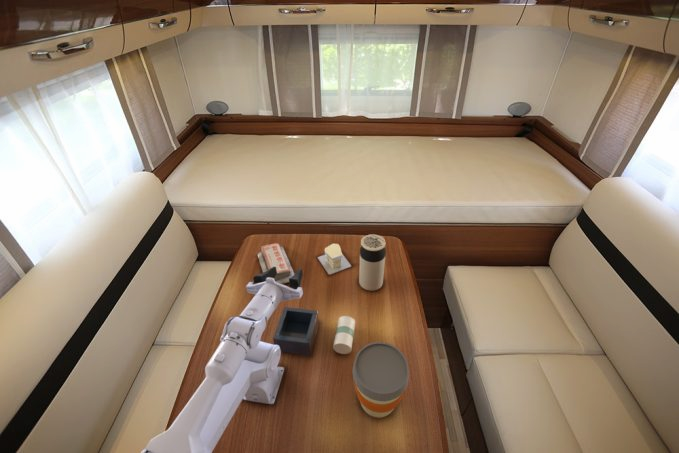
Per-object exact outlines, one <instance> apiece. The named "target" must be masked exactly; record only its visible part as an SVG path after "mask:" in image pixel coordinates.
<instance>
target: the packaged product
mask: <svg viewBox="0 0 679 453" xmlns="http://www.w3.org/2000/svg"><path fill="white" fill-rule="evenodd" d="M260 249H261V251H260V252H257V254H256V255H257V258H258V261H259V265H260V268H261V271H262V273H263V272H265V271H267V270H269V269H270V268H272V267H276V270H277V274H276V276H275V277H274V280H275V282H278V283H280V284H283V285H285V284H288V283H289V278H291V277H292V276H293V275H295V272H294V270H293V267H292V265H291V263H290V260H289V257H288V256H287V253H286V251H285V249H284V246H280V244H279V243H277V242H273V243H270V244H265V245H262V246H261V248H260Z"/></svg>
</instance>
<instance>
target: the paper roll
mask: <svg viewBox="0 0 679 453" xmlns="http://www.w3.org/2000/svg"><path fill="white" fill-rule="evenodd" d="M355 329H356V321H355V319H354V318H353V317H351V316H350V315H349V316H348V315H342V316H340V317H339V318H338V320H337V324H336V331H335V335H334V340H333V346H332V349H333V351H335V352H336V353H338V354H341V355H347V354H350V353H351V352H352V348H353V342H354V335H355Z"/></svg>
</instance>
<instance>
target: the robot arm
mask: <svg viewBox="0 0 679 453" xmlns="http://www.w3.org/2000/svg"><path fill="white" fill-rule="evenodd" d="M276 274H277V270H276V267H272V268H270V269H269V270H267V271H265V272H263V271H262V272H261V273H258V274H254V276H253V277H252V280H253V281H249V282H248V283H247V284H246V286H245V288H246V292H247V293H248V294H252V295H254V296H253V298H252V299H251V300H250V301H249V303H248V304H247V305H246V306H245V308H244V309H243V310H242V311H241V313H240V314H239V316H235V315H234V316H231V317H230V318H229V319H228V320H227V321H226V323H225V324H224V326H223V329H222V334H221V336H220V339H219V342H220V343H219V344H218V346H217V348H216V350H215V351H214V352H213V354H212V356H211V357H210V359H209V361H208V362H207V363H206V365H205V367H204V373H205V378H204V379H203V380H202V382H201V383H200V385H199V386H198V387H197V389H196V390H195V391H194V392H193V394H192V396H191V397H190V399H189V400H188V402H187V403H186V404H185V406H184V407H183V408H182V410H181V411H180V412H179V414H178V415H177V416H176V417H175V419H174V421H173V422H172V424H171V425H170V426H169V427H168V429H166V430H165V431H163V432H162V433H159V434H158V435H156V436H154V437H152V438H151V439H149V441H148V442H147V445H146V447H145V448H144V449H142V451H140V453H213V451H214V450H215V448H216V446H217V445H218V443H219V441H220V440H221V438H222V436H223V434H224V433H225V430H226V428H227V427H228V426H229V423H230V422H231V420H232V418H233V417H234V415H235V413H236V411H237V409H238V408H239V406H240V404H241V402H242V401H243V400H244V401H249V402H256V403H261V404H268V405H274V404H275V402H276V398H277V395H278V391H279V389H280V385H281V382H282V379H283V375H284V372H285V367H283V366H278V365H279V363H280V359H281V355H282V352H281V350H280V347H279V345H275V344H274V343H269V342H265V341H262V340H261V339H262V335H263V333H264V331H265V330H266V328H267V322H268V321H269V319H270V318H271V316H272V315H273V313H274V312H275V311H276V309H277V307H278V306H279V304H280V303H281V302H285V301H290V300H296V299H299V300H301V298H302V296H304V291H303V287H301V286H302V279H303V277H304V273H303V269H302V268H298V270H296V272H294V274H295V275H293V276H292V277H291V278H289V282H288V283H289V284H288V286H287V285H285V284H280V283H278V282H275V280H274V277H275V276H276Z"/></svg>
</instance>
